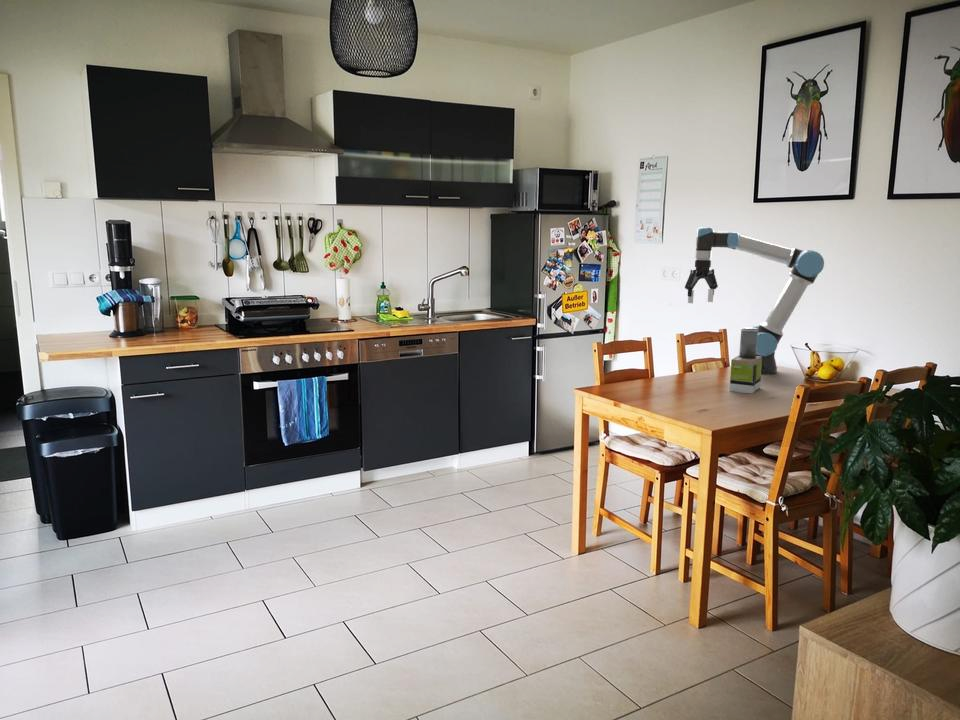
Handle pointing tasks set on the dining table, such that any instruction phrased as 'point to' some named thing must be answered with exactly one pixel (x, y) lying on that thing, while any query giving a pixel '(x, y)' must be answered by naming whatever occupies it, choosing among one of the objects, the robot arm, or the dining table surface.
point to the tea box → (745, 374)
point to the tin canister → (748, 342)
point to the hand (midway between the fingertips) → (700, 302)
